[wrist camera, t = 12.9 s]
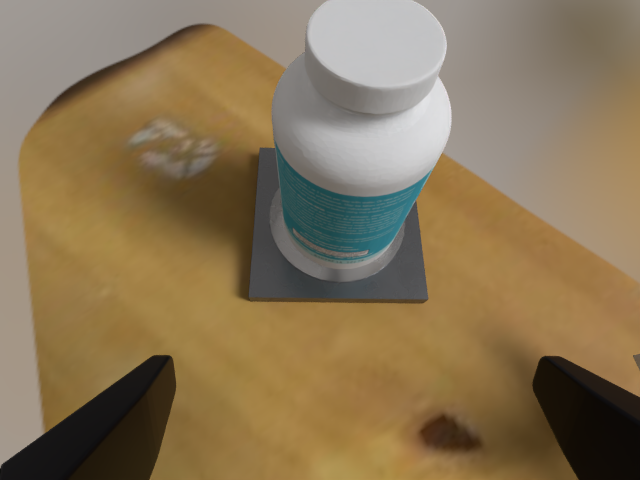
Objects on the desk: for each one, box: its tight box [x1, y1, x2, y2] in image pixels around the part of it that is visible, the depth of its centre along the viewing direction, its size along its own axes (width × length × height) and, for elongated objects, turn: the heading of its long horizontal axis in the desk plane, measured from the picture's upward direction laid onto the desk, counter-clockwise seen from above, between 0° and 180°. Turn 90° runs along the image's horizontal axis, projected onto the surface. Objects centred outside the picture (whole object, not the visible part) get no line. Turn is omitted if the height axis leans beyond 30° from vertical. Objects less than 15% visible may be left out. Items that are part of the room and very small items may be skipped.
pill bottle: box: [272, 0, 451, 269], centre depth 18 cm, size 8×7×14 cm
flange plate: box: [249, 148, 428, 303], centre depth 25 cm, size 11×11×1 cm
